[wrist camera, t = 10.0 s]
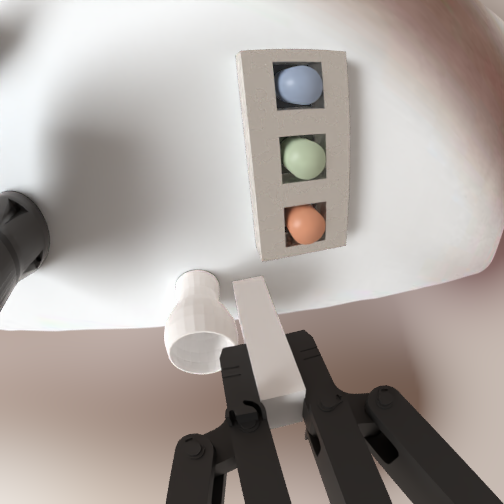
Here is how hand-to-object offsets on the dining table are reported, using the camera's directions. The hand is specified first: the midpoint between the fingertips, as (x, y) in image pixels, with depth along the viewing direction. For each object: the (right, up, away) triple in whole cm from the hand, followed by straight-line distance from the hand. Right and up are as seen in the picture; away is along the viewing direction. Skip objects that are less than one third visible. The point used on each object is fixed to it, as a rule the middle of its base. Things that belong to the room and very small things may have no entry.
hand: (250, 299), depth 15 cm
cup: (-9, -4, +35) cm, 37 cm away
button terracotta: (+7, +8, +31) cm, 33 cm away
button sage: (+6, +17, +25) cm, 31 cm away
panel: (+6, +17, +26) cm, 32 cm away
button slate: (+5, +25, +20) cm, 33 cm away
